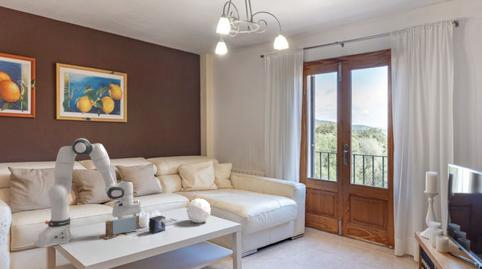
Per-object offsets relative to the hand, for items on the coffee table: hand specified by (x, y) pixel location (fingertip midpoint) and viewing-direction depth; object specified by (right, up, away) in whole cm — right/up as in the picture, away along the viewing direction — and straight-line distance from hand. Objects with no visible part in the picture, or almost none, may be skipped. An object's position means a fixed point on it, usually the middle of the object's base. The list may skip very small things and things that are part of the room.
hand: (126, 221), depth 243 cm
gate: (0, -7, -2) cm, 7 cm away
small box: (+22, -9, +3) cm, 23 cm away
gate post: (-9, -8, -11) cm, 16 cm away
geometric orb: (+49, -8, +27) cm, 57 cm away
